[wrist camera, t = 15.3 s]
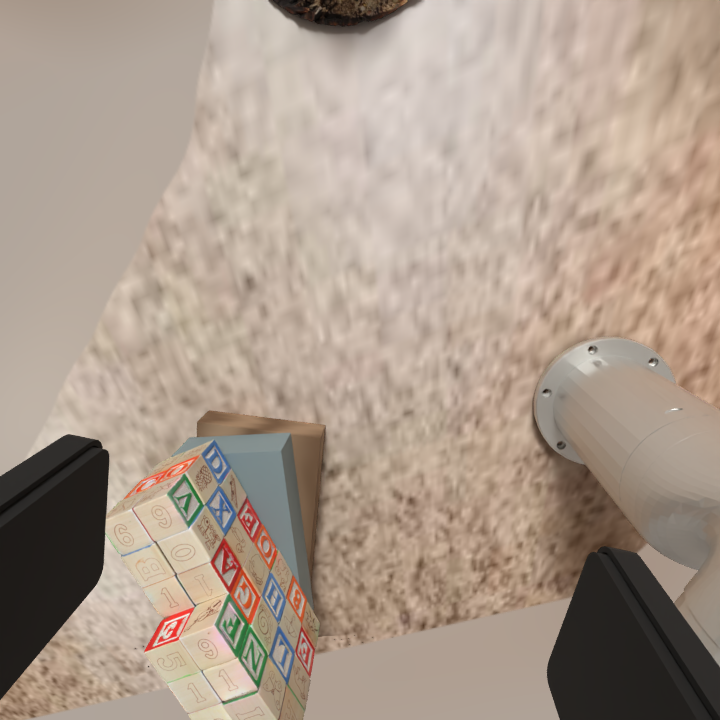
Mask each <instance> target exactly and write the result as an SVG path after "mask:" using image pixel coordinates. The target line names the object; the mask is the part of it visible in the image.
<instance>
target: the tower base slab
mask: <svg viewBox="0 0 720 720" xmlns="http://www.w3.org/2000/svg"><path fill="white" fill-rule="evenodd" d="M272 433H291V438H292V446H293V454H294V461H295V469H296V476H297V484H298V491H299V499H300V507H301V514H302V522H303V530H304V537H305V545H306V552H307V560H308V568H309V575H310V582H311V578H312V567H313V556H314V545H315V534H316V523H317V512H318V501H319V490H320V479H321V468H322V457H323V446H324V435H325V425H321V424H313V423H305V422H297V421H289V420H281V419H273V418H265V417H257V416H249V415H241V414H233V413H225V412H217V411H208V412H207V413H206V414H205V415H204V416H203V417H202V418H201V419H200V420H199V421H198V422H197V437H212V436H232V435H252V434H272Z"/></svg>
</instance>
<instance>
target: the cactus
mask: <svg viewBox="0 0 720 720" xmlns="http://www.w3.org/2000/svg"><path fill="white" fill-rule="evenodd" d="M273 1H275V2H276V3H277V4H278V5H279V6H280V7H282V8H284V9H286V10H287V11H288V12H290V13H291V14H295V15H298V16H299V17H301V18H304V19H307V20H309V21H314V22H316V23H318V24H327V25H334V26H336V25H340V26H345V25H347V26H350V25H357V24H358V23H359V22H363V21H373V20H377V19H380V18H382V17H384V16H386V15H388V14H390V13H392V12H394V11H395V10H396V9H397V8H399V7H401V6H403V5H404V4H405V3H407V1H408V0H273Z"/></svg>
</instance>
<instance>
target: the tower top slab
mask: <svg viewBox="0 0 720 720" xmlns="http://www.w3.org/2000/svg"><path fill="white" fill-rule="evenodd" d="M212 440H215V441H216V443H217V444H218V446H219V448H220V450H221V451H222V453H223V455H224V456H225V458H226V460H227V462H228V463H229V465H230V468H231V469H232V470H233V472H234V474H235V475H236V477H237V479H238V481H239V482H240V484H241V486H242V488H243V489H244V491H245V493H246V495H247V497H246V498H247V499H248V500H249V502H250V504H251V505H252V507H253V509H254V510H255V512H256V514H257V516H258V518H259V519H260V521H261V524H263V525H264V527H265V529H266V530H267V532H268V534H269V536H270V537H271V539H272V541H273V543H274V544H275V546H276V548H277V549H278V550H279V551H280V552H281V554H282V556H283V558H284V559H285V561H286V563H287V565H288V566H289V568H290V570H291V572H292V574H293V576H294V577H295V579H296V581H297V582H298V584H299V586H300V588H301V589H302V591H303V593H304V595H305V596H306V598H307V602H308V603H309V605H310V607H311V609H312V610H314V605H313V598H312V590H311V582H310V575H309V568H308V560H307V552H306V545H305V537H304V530H303V522H302V514H301V507H300V499H299V491H298V484H297V476H296V469H295V461H294V454H293V446H292V438H291V433H272V434H252V435H232V436H212V437H192V438H189V439H188V440H187V441H186V442H185V443H184V444H183V445H182V446H181V447H180V448H179V449H178V450H177V451H176V452H175V453H174V454H173V455H172V457H173V456H176V455H178V454H181V453H183V452H186V451H188V450H191V449H193V448H195V447H198V446H200V445H203V444H205V443H207V442H209V441H212Z"/></svg>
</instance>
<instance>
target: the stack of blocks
mask: <svg viewBox="0 0 720 720" xmlns="http://www.w3.org/2000/svg"><path fill="white" fill-rule="evenodd" d="M246 497H247V495H246V493H245V491H244V489H243V488H242V486H241V484H240V482H239V481H238V479H237V477H236V475H235V474H234V472H233V470H232V469H231V468H230V465H229V463H228V462H227V460H226V458H225V456H224V455H223V453H222V451H221V450H220V448H219V446H218V444H217V443H216V441H215V440H212V441H209V442H207V443H205V444H203V445H200V446H198V447H195V448H193V449H191V450H188V451H186V452H183V453H181V454H178V455H176V456H173V457H171V458H169V459H167V460H165V461H163V462H161V463H159V464H157V465H156V466H155V467H154V468H153V469H152V470H151V471H150V472H149V473H148V475H147V476H146V477H145V478H144V479H143V480H141V481H140V482H139V483H138V484H137V485H136V486H135V487H134V488H133V489H132V490H131V491H130V492H129V493H128V495H127V496H126V497H125V498H124V499H123V500H122V501H120V502H119V503H118V504H117V505H116V506H115V507H114V508H113V509H112V510H111V511H110V512H109V513H108V514H107V515H106V527H105V534H106V535H107V537H108V538H109V540H110V541H111V543H112V544H113V546H114V547H115V549H116V550H117V552H118V553H119V554H121V559H122V560H123V562H124V563H125V565H126V566H127V568H128V569H129V571H130V572H131V574H132V575H133V577H134V578H135V580H136V581H137V583H138V584H139V586H140V587H142V590H143V592H144V594H145V595H146V596H147V598H148V599H149V601H150V602H151V604H152V605H153V606H154V608H155V609H156V611H157V612H158V613H159V614H160V615H161V616H162V617H164V619H163V620H162V621H161V623H160V624H159V626H158V628H157V630H156V632H155V633H154V635H153V637H152V639H151V640H150V642H149V644H148V645H147V647H146V649H145V651H144V653H145V655H146V656H147V658H148V659H149V661H150V662H151V664H152V665H153V666H154V668H155V669H156V671H157V672H158V674H159V675H160V676H161V678H162V679H163V680H164V682H166V683H167V685H168V687H169V688H170V690H171V691H172V693H173V694H174V695H175V697H176V698H177V700H178V701H179V702H180V704H181V705H182V707H183V708H184V709H185V711H186V712H188V716H189V717H190V719H191V720H303V717H304V712H305V709H306V702H307V698H308V692H309V686H310V676H311V671H312V665H313V659H314V652H315V649H316V646H317V640H318V633H319V627H320V623H319V621H318V619H317V617H316V616H315V614H314V612H313V610H312V609H311V607H310V605H309V603H308V602H307V598H306V596H305V595H304V593H303V591H302V589H301V588H300V586H299V584H298V582H297V581H296V579H295V577H294V576H293V574H292V572H291V570H290V568H289V566H288V565H287V563H286V561H285V559H284V558H283V556H282V554H281V552H280V551H279V550H278V549H277V548H276V546H275V544H274V543H273V541H272V539H271V537H270V536H269V534H268V532H267V530H266V529H265V527H264V525H263V524H261V521H260V519H259V518H258V516H257V514H256V512H255V510H254V509H253V507H252V505H251V504H250V502H249V500H248V499H247V498H246Z"/></svg>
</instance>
